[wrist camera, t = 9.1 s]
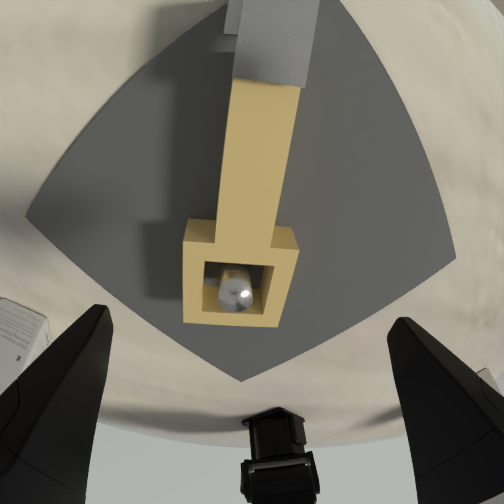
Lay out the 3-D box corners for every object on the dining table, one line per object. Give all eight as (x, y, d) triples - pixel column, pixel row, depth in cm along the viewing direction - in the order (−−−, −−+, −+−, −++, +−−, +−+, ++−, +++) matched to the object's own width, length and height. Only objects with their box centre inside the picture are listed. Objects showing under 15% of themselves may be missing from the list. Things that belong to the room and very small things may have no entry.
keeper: (232, -17, 10) (233, -41, 7) (315, -3, 11) (339, -21, 8) (217, 76, 13) (213, 76, 10) (300, 87, 14) (321, 91, 11)
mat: (240, 379, 29) (241, 381, 28) (27, 214, 17) (25, 216, 16) (454, 256, 22) (456, 258, 21) (305, -37, 10) (306, -38, 9)
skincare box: (47, 315, 22) (2, 426, 12) (52, 342, 24) (18, 443, 14) (-1, 295, 21) (-52, 392, 11) (7, 323, 23) (-33, 414, 13)
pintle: (232, 281, 21) (233, 317, 18) (213, 264, 20) (211, 299, 17) (254, 267, 20) (259, 301, 17) (236, 248, 19) (238, 282, 16)
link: (272, 301, 22) (277, 327, 20) (186, 296, 21) (183, 322, 19) (324, 67, 13) (341, 67, 11) (203, 49, 12) (198, 44, 10)
